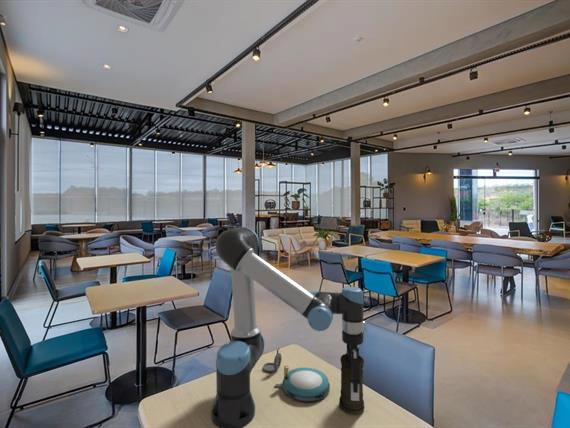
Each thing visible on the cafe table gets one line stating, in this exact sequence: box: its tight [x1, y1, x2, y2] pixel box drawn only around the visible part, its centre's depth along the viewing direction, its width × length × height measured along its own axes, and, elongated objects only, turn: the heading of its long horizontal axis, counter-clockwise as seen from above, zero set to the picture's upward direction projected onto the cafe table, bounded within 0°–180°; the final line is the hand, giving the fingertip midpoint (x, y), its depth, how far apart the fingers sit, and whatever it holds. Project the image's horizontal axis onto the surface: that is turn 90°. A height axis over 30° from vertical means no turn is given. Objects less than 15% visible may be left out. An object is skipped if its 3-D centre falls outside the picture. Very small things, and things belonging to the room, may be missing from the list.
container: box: [338, 353, 365, 416], centre depth 112 cm, size 9×9×18 cm
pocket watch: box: [262, 347, 282, 373], centre depth 137 cm, size 8×8×10 cm
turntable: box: [283, 365, 329, 397], centre depth 124 cm, size 18×18×6 cm
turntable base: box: [275, 379, 331, 404], centre depth 124 cm, size 22×19×2 cm
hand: (352, 388), depth 112 cm, fingers open, 13 cm apart
